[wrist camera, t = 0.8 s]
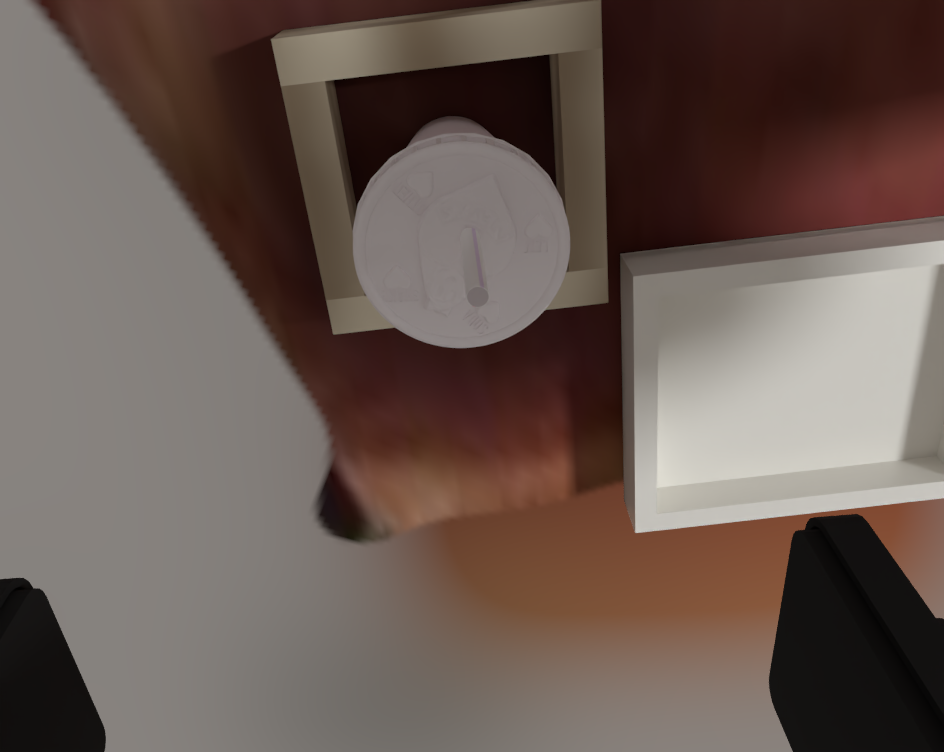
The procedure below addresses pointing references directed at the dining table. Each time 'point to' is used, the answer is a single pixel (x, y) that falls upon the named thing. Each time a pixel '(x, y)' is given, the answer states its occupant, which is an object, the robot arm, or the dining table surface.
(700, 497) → the tray
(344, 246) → the frame
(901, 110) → the dining table surface
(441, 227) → the smoothie
